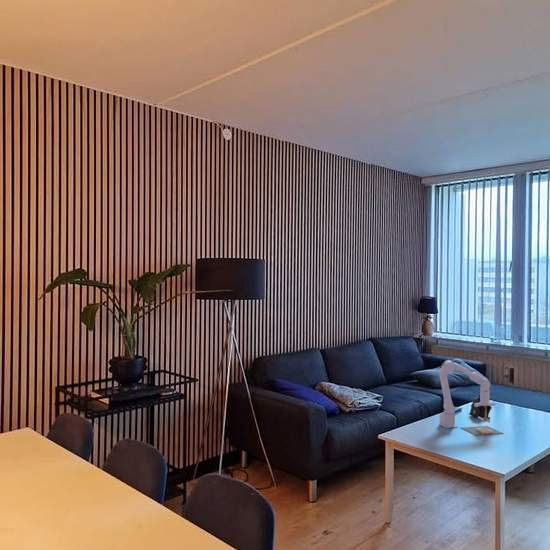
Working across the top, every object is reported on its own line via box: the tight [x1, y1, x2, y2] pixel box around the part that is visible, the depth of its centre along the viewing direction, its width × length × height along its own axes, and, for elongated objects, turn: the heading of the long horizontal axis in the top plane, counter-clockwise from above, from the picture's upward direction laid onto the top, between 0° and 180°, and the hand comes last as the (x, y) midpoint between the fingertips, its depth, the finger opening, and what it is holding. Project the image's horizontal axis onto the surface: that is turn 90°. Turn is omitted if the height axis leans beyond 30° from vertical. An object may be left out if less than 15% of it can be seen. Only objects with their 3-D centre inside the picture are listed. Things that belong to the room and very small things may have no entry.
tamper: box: [480, 406, 490, 423], centre depth 325 cm, size 4×4×10 cm
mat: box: [460, 425, 504, 437], centre depth 319 cm, size 20×16×1 cm
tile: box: [476, 427, 493, 434], centre depth 316 cm, size 7×2×7 cm
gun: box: [468, 394, 491, 421], centre depth 347 cm, size 3×17×15 cm
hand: (484, 416), depth 326 cm, fingers closed on tamper, 2 cm apart
